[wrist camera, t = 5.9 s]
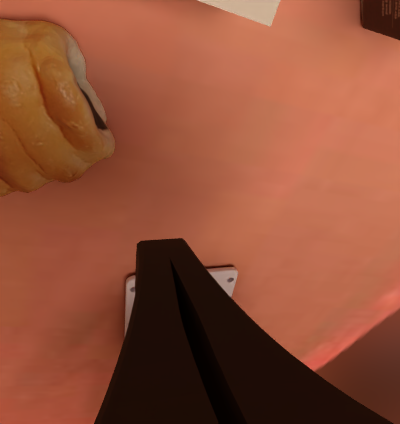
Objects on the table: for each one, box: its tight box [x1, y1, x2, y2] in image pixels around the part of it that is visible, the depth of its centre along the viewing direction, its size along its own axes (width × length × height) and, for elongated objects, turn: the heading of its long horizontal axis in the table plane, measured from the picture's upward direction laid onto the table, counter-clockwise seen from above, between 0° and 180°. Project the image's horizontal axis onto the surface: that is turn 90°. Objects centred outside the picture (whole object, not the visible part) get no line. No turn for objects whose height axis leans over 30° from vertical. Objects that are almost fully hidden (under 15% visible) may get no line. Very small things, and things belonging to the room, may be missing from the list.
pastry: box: [0, 19, 115, 197], centre depth 14 cm, size 9×7×4 cm
